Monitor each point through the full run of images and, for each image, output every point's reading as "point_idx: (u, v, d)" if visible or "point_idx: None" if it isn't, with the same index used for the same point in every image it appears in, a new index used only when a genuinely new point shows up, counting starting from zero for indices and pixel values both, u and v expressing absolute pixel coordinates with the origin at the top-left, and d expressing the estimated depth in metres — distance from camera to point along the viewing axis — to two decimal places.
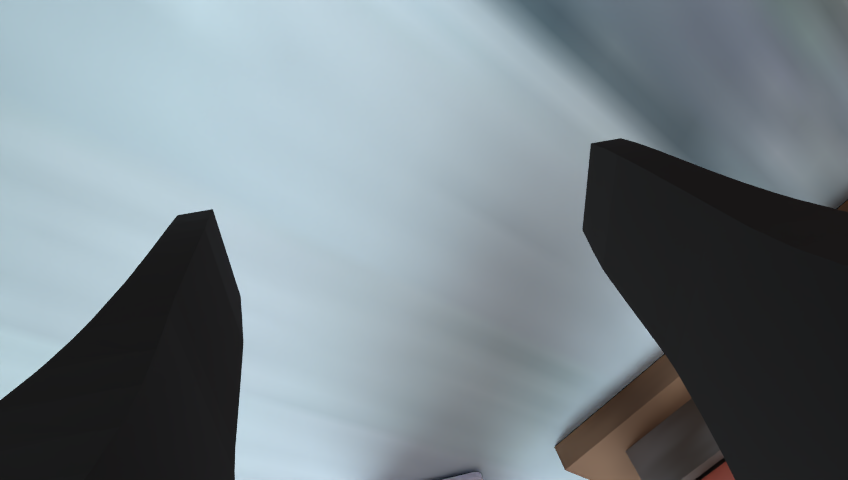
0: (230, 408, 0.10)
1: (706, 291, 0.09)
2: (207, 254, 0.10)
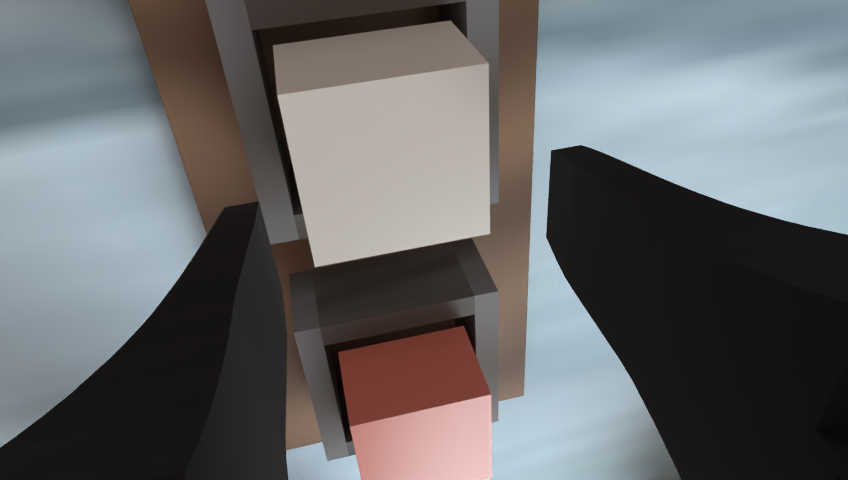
0: (280, 397, 0.10)
1: (657, 301, 0.09)
2: (258, 245, 0.10)
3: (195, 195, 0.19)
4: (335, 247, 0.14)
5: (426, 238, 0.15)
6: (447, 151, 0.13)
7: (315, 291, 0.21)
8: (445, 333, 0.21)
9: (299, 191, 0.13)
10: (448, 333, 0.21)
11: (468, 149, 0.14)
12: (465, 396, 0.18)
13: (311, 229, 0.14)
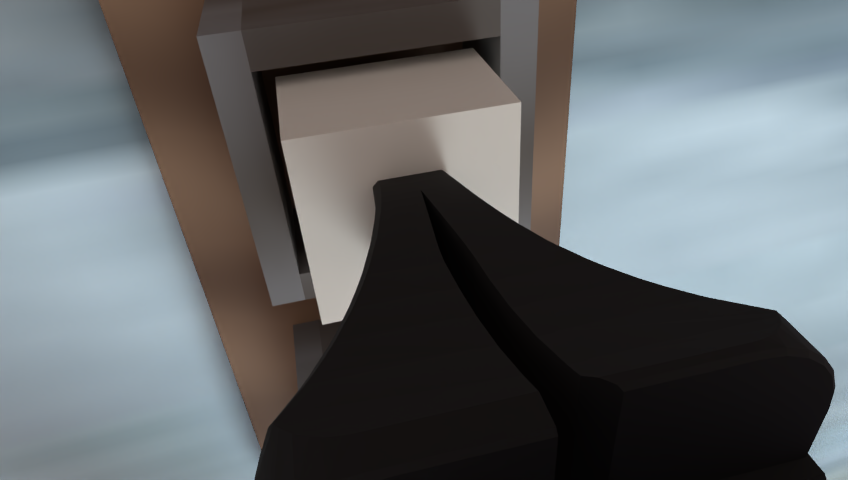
0: None
1: None
2: None
3: (188, 244, 0.17)
4: (345, 303, 0.13)
5: None
6: None
7: (322, 346, 0.19)
8: None
9: (305, 244, 0.12)
10: None
11: (495, 196, 0.12)
12: None
13: (319, 284, 0.12)
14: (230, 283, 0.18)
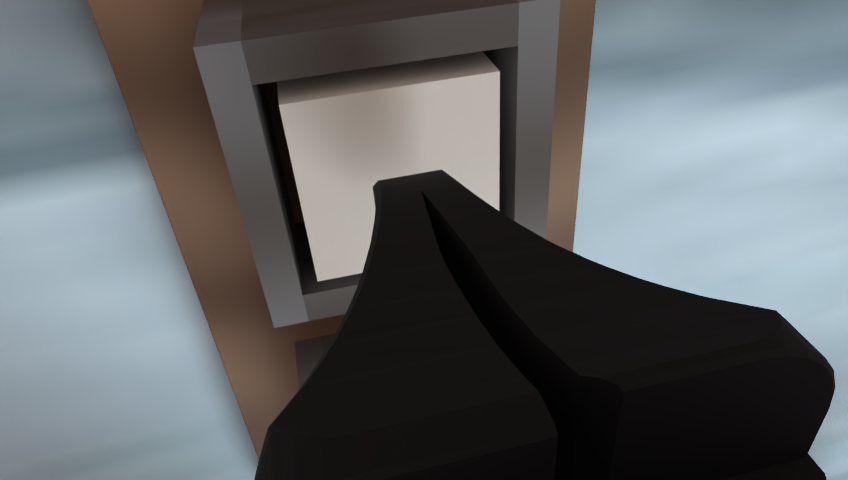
0: None
1: None
2: None
3: (186, 260, 0.16)
4: (339, 261, 0.14)
5: None
6: (456, 162, 0.13)
7: None
8: None
9: (301, 204, 0.13)
10: None
11: (478, 160, 0.13)
12: None
13: (314, 242, 0.13)
14: (230, 299, 0.17)
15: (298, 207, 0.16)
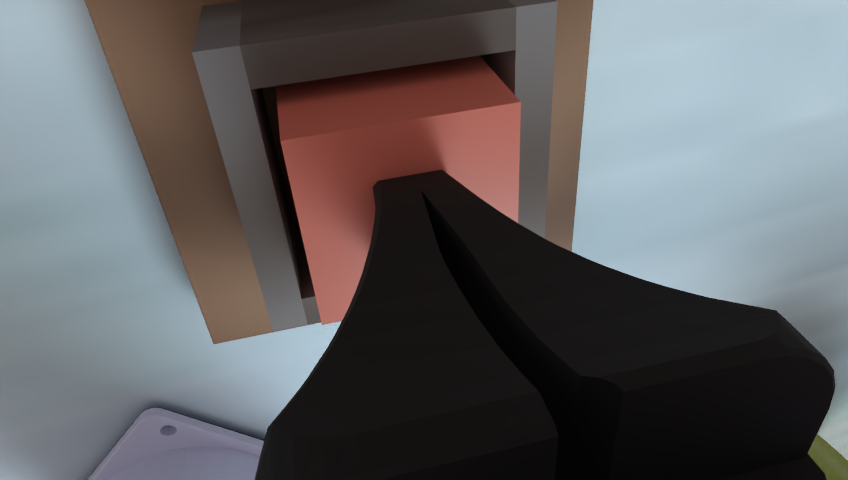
0: None
1: None
2: None
3: None
4: None
5: None
6: None
7: (241, 16, 0.12)
8: None
9: None
10: None
11: None
12: (478, 105, 0.11)
13: None
14: None
15: None
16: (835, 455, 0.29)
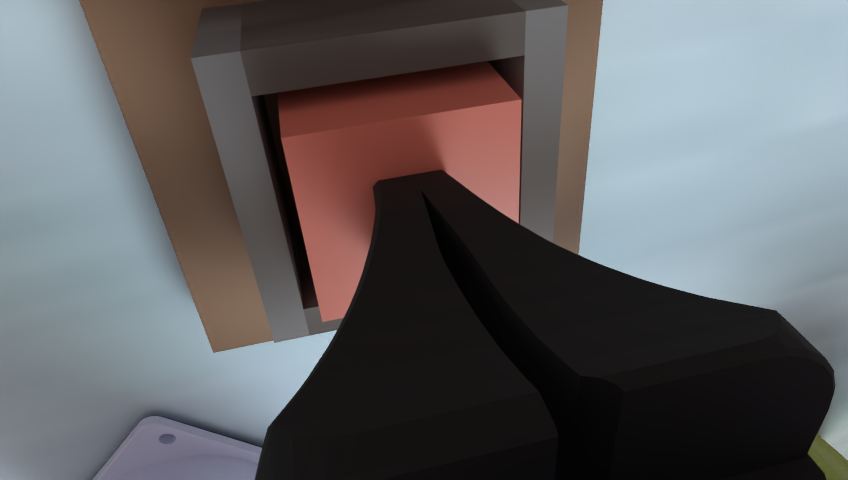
0: None
1: None
2: None
3: None
4: None
5: None
6: None
7: (242, 20, 0.12)
8: None
9: None
10: None
11: None
12: (479, 103, 0.11)
13: None
14: None
15: None
16: (843, 462, 0.29)
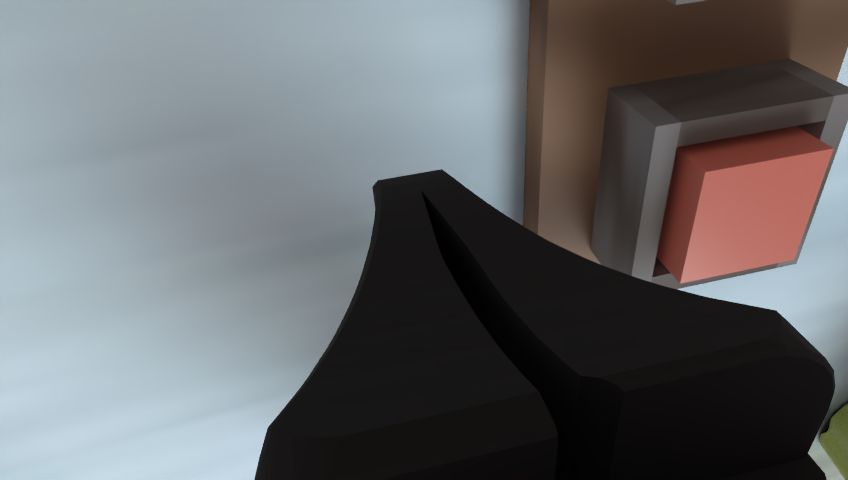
0: None
1: None
2: None
3: None
4: None
5: None
6: None
7: (650, 98, 0.19)
8: None
9: None
10: None
11: None
12: (809, 150, 0.19)
13: None
14: (571, 30, 0.19)
15: None
16: None
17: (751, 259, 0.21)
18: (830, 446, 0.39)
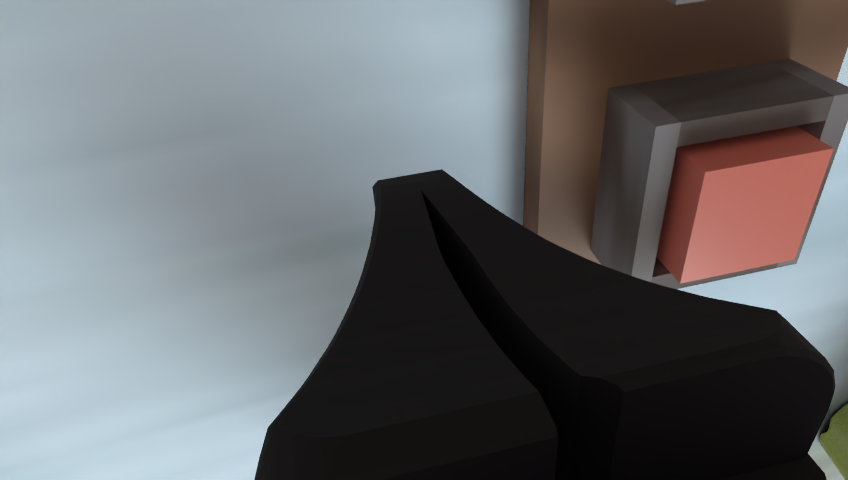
0: None
1: None
2: None
3: None
4: None
5: None
6: None
7: (650, 98, 0.19)
8: None
9: None
10: None
11: None
12: (809, 150, 0.19)
13: None
14: (571, 30, 0.19)
15: None
16: None
17: (751, 259, 0.21)
18: (830, 446, 0.39)
